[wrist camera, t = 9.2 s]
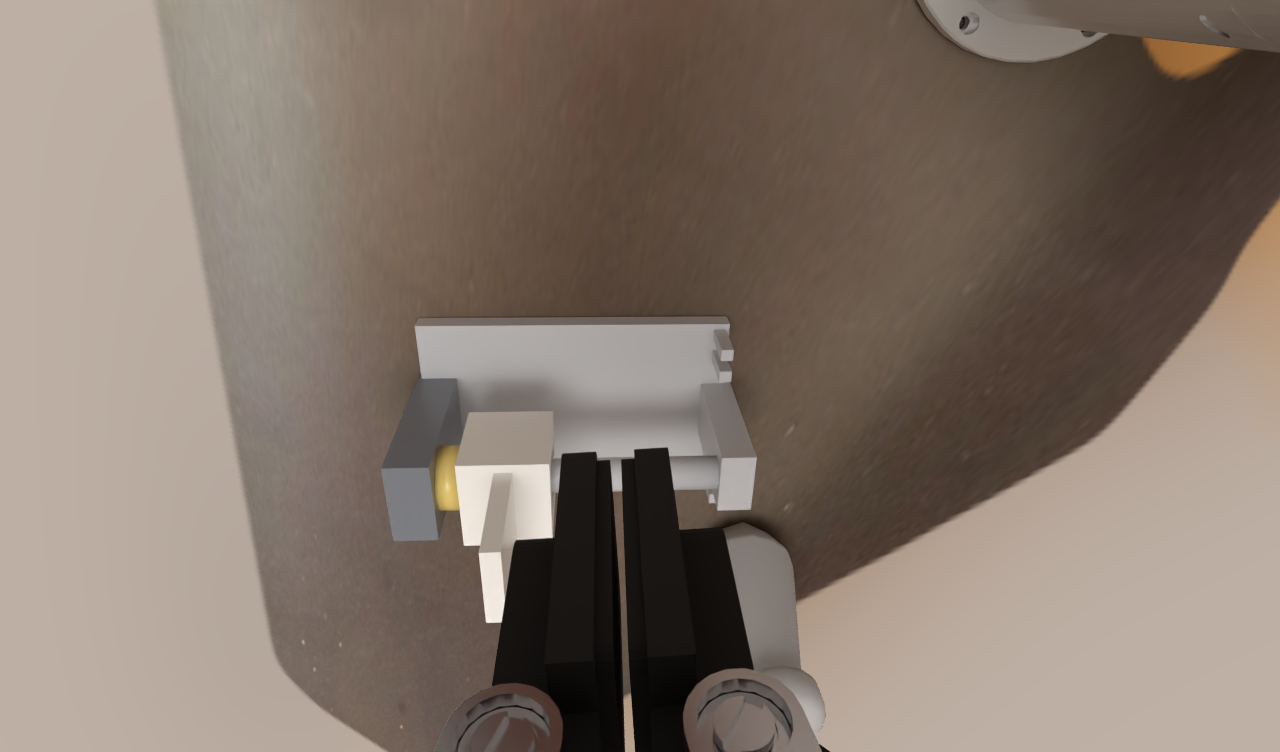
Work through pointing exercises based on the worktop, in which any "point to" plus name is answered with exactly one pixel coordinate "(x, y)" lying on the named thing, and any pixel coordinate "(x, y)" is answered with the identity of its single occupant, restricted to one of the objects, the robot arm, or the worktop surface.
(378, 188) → the worktop surface
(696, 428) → the slider rail rig
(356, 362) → the worktop surface
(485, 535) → the square collar block
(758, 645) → the salt shaker
